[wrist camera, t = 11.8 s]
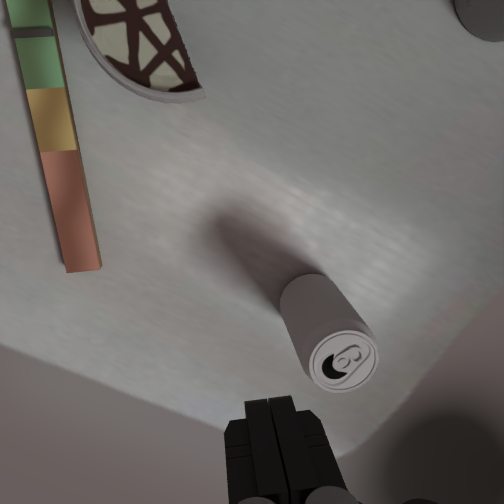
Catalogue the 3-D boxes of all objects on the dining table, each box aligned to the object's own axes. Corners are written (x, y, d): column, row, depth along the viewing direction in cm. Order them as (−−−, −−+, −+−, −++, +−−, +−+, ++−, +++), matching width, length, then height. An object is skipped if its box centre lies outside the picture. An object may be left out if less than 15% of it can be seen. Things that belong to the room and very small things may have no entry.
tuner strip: (46, -22, 34) (40, -28, 32) (102, 265, 41) (98, 271, 40) (6, -20, 33) (-2, -26, 32) (70, 268, 41) (65, 274, 40)
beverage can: (266, 293, 44) (288, 357, 33) (318, 259, 44) (360, 311, 32) (298, 337, 46) (330, 411, 35) (349, 304, 46) (397, 369, 34)
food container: (71, -28, 34) (21, -81, 24) (145, -57, 34) (122, -122, 24) (139, 125, 38) (119, 131, 28) (205, 100, 38) (206, 97, 28)
